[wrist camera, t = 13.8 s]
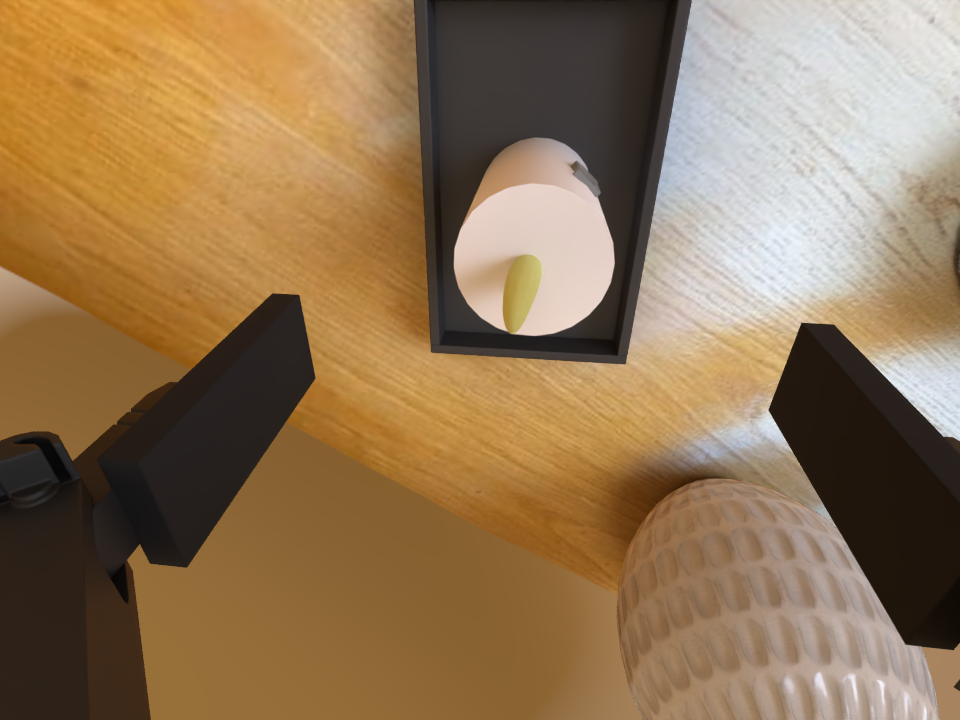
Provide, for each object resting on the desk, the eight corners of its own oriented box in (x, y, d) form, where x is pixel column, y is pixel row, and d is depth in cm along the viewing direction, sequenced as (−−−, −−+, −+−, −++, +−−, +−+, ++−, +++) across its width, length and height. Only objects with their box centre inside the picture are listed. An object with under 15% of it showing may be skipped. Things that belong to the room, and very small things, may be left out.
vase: (700, 599, 47) (805, 978, 28) (561, 514, 43) (575, 884, 24) (869, 505, 39) (1173, 938, 20) (719, 390, 35) (920, 792, 16)
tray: (423, -14, 25) (412, -19, 23) (682, -14, 24) (695, -19, 22) (437, 334, 35) (430, 352, 33) (620, 344, 34) (625, 364, 32)
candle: (620, 190, 29) (680, 309, 16) (537, 271, 32) (533, 426, 19) (537, 107, 27) (531, 166, 14) (458, 200, 30) (395, 319, 17)
